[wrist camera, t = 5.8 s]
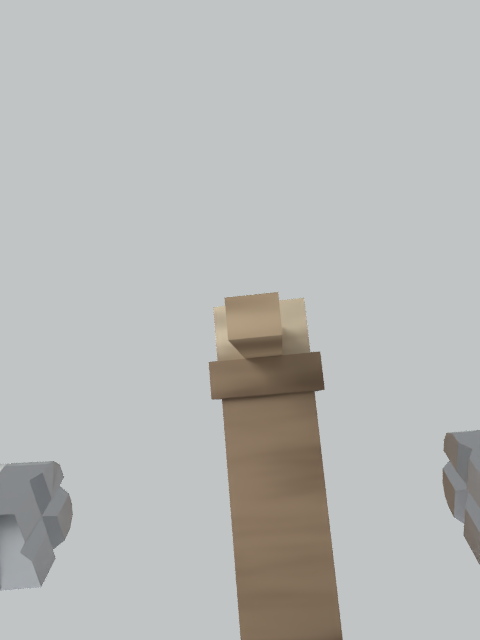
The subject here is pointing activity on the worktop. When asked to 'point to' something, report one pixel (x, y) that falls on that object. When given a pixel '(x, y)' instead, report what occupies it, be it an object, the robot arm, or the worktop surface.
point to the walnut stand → (278, 497)
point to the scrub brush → (260, 327)
